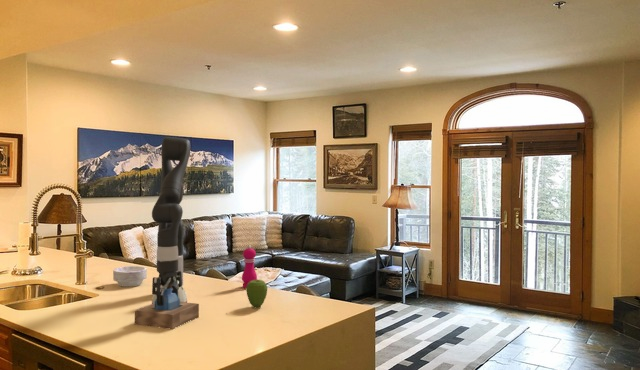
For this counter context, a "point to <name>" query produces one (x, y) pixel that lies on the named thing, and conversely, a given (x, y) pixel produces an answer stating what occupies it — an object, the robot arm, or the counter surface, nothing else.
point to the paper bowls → (129, 275)
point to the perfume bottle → (168, 300)
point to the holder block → (166, 315)
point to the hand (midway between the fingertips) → (167, 302)
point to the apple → (256, 292)
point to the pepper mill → (249, 266)
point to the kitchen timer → (181, 294)
